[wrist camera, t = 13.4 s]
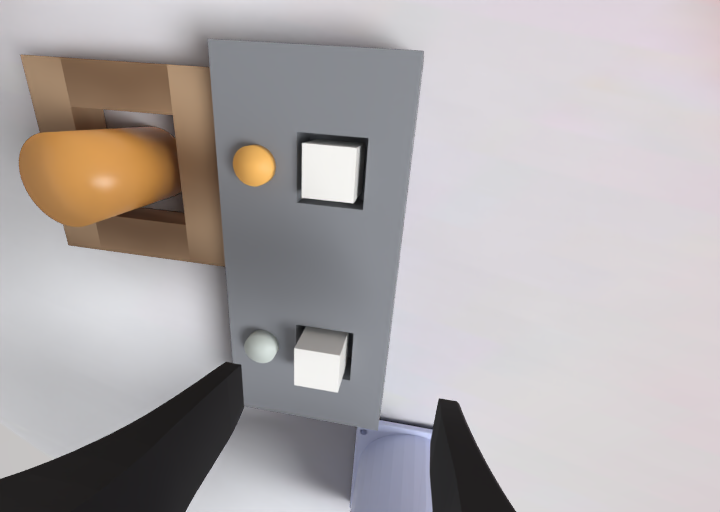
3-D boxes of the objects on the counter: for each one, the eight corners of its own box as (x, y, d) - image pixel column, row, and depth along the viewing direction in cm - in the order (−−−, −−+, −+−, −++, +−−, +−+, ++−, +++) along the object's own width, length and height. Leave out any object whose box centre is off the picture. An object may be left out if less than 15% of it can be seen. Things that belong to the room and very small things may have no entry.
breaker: (346, 362, 21) (337, 392, 19) (307, 356, 22) (294, 384, 19) (349, 328, 21) (340, 355, 18) (308, 322, 21) (294, 348, 19)
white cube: (361, 192, 19) (353, 203, 16) (316, 187, 19) (301, 197, 17) (365, 143, 18) (356, 148, 15) (317, 138, 18) (302, 143, 16)
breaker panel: (382, 394, 24) (376, 439, 21) (256, 372, 26) (231, 411, 22) (423, 60, 17) (423, 48, 14) (240, 49, 18) (199, 35, 15)
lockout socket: (242, 254, 22) (226, 266, 20) (96, 234, 23) (68, 245, 22) (232, 71, 18) (211, 67, 17) (58, 60, 20) (20, 54, 18)
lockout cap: (192, 200, 21) (113, 231, 16) (131, 193, 22) (33, 221, 16) (185, 129, 20) (94, 136, 14) (119, 123, 20) (7, 128, 15)
